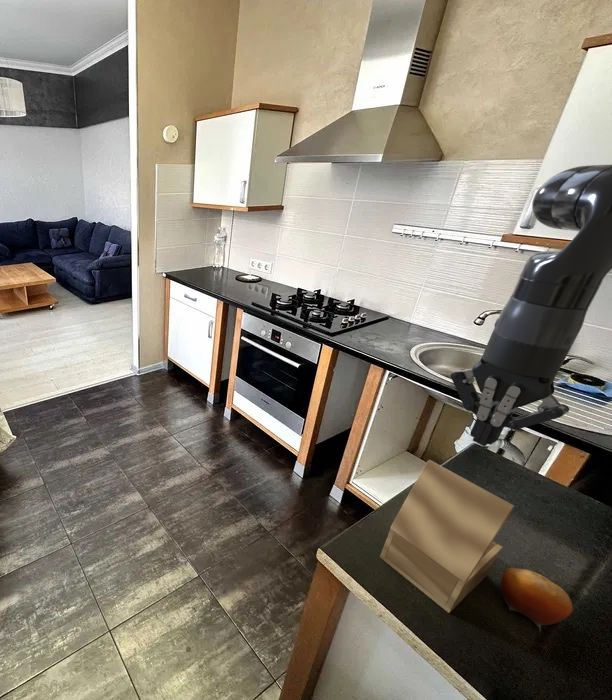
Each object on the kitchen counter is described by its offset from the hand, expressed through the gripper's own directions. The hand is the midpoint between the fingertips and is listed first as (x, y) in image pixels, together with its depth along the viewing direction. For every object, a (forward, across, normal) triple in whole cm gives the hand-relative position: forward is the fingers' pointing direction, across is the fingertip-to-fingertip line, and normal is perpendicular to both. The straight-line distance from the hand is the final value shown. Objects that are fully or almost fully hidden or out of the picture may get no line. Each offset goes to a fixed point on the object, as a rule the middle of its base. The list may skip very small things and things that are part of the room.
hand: (480, 441), depth 56 cm
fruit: (+29, -12, -9) cm, 33 cm away
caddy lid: (+15, 0, 0) cm, 15 cm away
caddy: (+29, 0, -4) cm, 30 cm away
